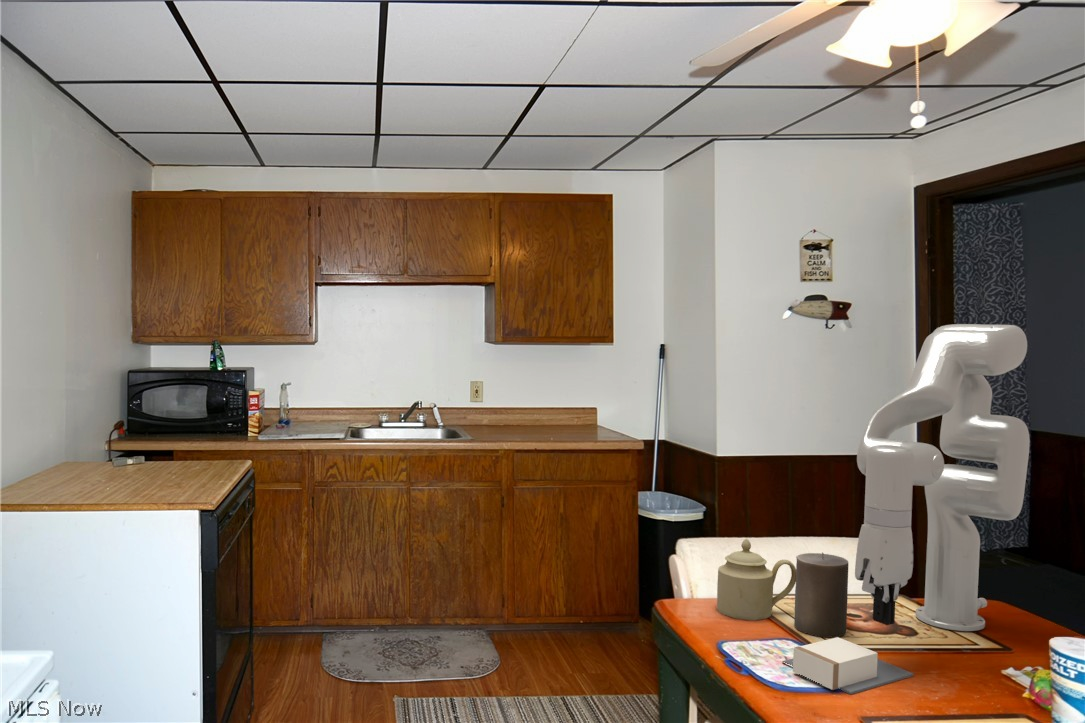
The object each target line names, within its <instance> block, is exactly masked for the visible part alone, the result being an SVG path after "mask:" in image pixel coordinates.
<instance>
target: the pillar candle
mask: <svg viewBox="0 0 1085 723" xmlns="http://www.w3.org/2000/svg"><path fill="white" fill-rule="evenodd" d="M795 558H796V565H795V568H796V582H795V589H794V592H795V593H794V618H793V619H794V621H793V622H794V628H795V629H796V630H798V631H800V632H802V633H804V634H807V633H808V635H812V636H814V635H815V637H821V638H836V637H843V636H845V635H846V633H847V626H848V624H847V622H848V598H849V597H848V595H849V594H848V592H849V591H848V588H849V587H848V586H849V585H848V584H849V560H848V559H846V558H844V557H841V556H838V555H834V554H829V553H824V552H821V553H819V552H815V553H814V552H808V553H807V552H806V553H800V554H798V555H796V556H795Z"/></svg>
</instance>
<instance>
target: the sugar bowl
mask: <svg viewBox="0 0 1085 723" xmlns="http://www.w3.org/2000/svg"><path fill="white" fill-rule="evenodd" d="M751 548H752V544H751V542H750V540H749V539H748V538H745V539H743V541H742V543H741V549H742V550H738V551H734V552H731V553H730V554H728V555H726V556H725V557H724V559H725V560H726V562H725V564H722V565H721V566H719V567H718V570H717V582H716V583H717V584H716V585H717V587H716V588H717V589H716V590H717V593H716V594H717V595H716V596H717V597H716V609H717V611H718V612H719V613H721V614H722V615H724V616H726V617H729V618H732V619H736V620H742V621H743V620H744V621H760V620H767V619H769V618H770V617H771V616H772V614H773V607H774V606H775V605H776V604H777V603H779V602H780V601H782V600H783V599H784V598H785V597H787V596H788V595H789V594H790V593H791V592H792V590H793V588H794V587H795V586H796V565H795V564H794V563H793V562H792V561H790V560H788V559H780V560H778V561H776V563H775V564H774V565H773V567H772V570H770V569H769V568H767V567H766V564H767V560H766V559H765V558H764V557H763V556H761V555H760V554H758V553H757V552H753V551H750V550H751ZM783 565H788V567H789V568H790V571H791V575H790V580H789V582H788V584H787V585H786V586H785V588H784V589H783V590H782V591H781V592H779V593H778V594H776V595H775V596H774V584H775V581H776V577H777V574H778V572H779V569H780V568H781V567H782V566H783Z"/></svg>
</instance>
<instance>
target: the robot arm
mask: <svg viewBox="0 0 1085 723" xmlns="http://www.w3.org/2000/svg"><path fill="white" fill-rule="evenodd" d="M1027 352H1028V340H1027V336H1026V333H1025V332H1024V331H1023V329H1022V328H1021V327H1019V326H1018V325H1013V324H977V323H973V324H972V323H968V324H967V323H956V324H945V325H941V326H940V327H939V326H938V327H936V329H934V330H933V332H931V334H929V335H928V336H926V338H925V339H924V342H923V344H922V346H921V349H920V352H919V354H918V357H917V359H916V362H915V365H914V368H913V371H912V374H911V376H910V378H909V382H908V385H907V388H906V389H905V390H904V391H903V392H901V393H899V394H898V395H896V396H895V397H893V398H892V399H890V400H889V401H888V402H886V403H885V404H884V405H882V406H881V407H880V408H879V409H878V410H876V411H875V413H873V414H872V416H871V417H870V419H869V420H868V422H867V424H866V427H865V429H864V431H863V434H862V437H861V439H860V442H859V445H858V448H857V455H856V463H857V468H858V469H859V471H860V472H861V474H862V475H864V476H865V487H864V488H865V491H864V492H865V494H864V511H863V512H864V513H863V514H864V515H863V516H864V518H863V524H861V527H860V531H859V535H858V540H857V548H856V554H855V564H854V565H855V566H854V567H855V569H854V577H855V579H856V580H857V581H862V584H861V585H862V586H861V591H862V592H865V593H869V594H870V597H871V598H872V599H873V600H872V601H873V602H872V603H873V604H872V621H874V622H877V623H880V624H882V625H885V626H890V625H894V624H895V622H896V621H895V620H896V617H895V616H896V601H897V600H898V598H899V591H900V590H901V588H903V587H905V586H906V585H907V584H908V580H910V579H911V578H912V575H913V568H914V544H913V541H914V540H913V532H912V516H913V515H912V514H913V513H912V512H913V511H912V510H913V486H921V487H924V495H925V500H926V509H927V510H926V512H927V542H926V557H925V560H926V563H925V586H924V605H922V606H919V607H917V608H916V609H915V617H916V619H918V620H920V621H921V622H922V623H924V624H927V625H930V626H933V627H937V628H941V629H945V630H951V631H960V632H977V631H980V630H983V629H984V628H985V627H986V620H985V618H984V617H982V615H979V614H978V611H979V609H982V608H986V607H987V606H988V601H987V599H986V598H984V597H979V598H978V596H979V595H978V594H979V587H978V586H979V569H980V549H981V536H980V533H979V530H978V529H977V527H976V525H975V523H974V522H973V521H972V519H971V518H970V517H971V516H974V517H978V518H979V517H981V518H985V519H986V518H987V519H992V520H999V521H1012V520H1014V519H1016V518H1017V517H1018V516H1019V515H1020V514H1021V511H1022V508H1023V505H1024V504H1023V503H1024V498H1025V497H1024V496H1025V490H1026V480H1027V473H1028V464H1029V457H1030V456H1029V454H1030V446H1031V445H1030V444H1031V443H1030V442H1031V440H1030V432H1029V428H1028V426H1027V424H1026V423H1025V421H1023V420H1022V419H1021V418H1018V417H1015V416H1010V415H1003V414H1002V415H1000V414H991V407H992V399H993V389H992V387H991V385H990V383H989V382H988V380H987V379H986V377H985V376H987V377H988V376H991V377H994V376H1001V375H1003V374H1006V373H1008V372H1010V371H1012V370H1014V369H1016V368H1018V367H1019V366H1020V365H1021V364H1022V363H1023V361H1024V360H1025V359H1026V358H1025V357H1026V355H1027ZM939 416H942V419H941V425H940V433H939V447H940V449H941V451H942V452H943V454H945V455H947V457H948V456H949V457H951V458H954V459H961V460H966V461H967V460H968V461H975V462H984V463H993V464H995V465H997V469H991V468H983V467H977V466H970V465H969V466H968V465H961V464H955V463H954V464H950V463H947V464H945V459H944V456H943V454H942V452H941V451H940V450H939V448H937V447H936V446H934V445H933V444H929V443H924V442H919V441H917V442H916V441H908V440H903V439H901V440H900V439H891V438H890V437H891V436H892V435H893V434H894V433H895V432H897V431H898V430H900V429H902V428H905V427H907V426H909V425H913V424H915V423H920V422H923V421H927V420H930V419H933V418H936V417H939Z"/></svg>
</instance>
